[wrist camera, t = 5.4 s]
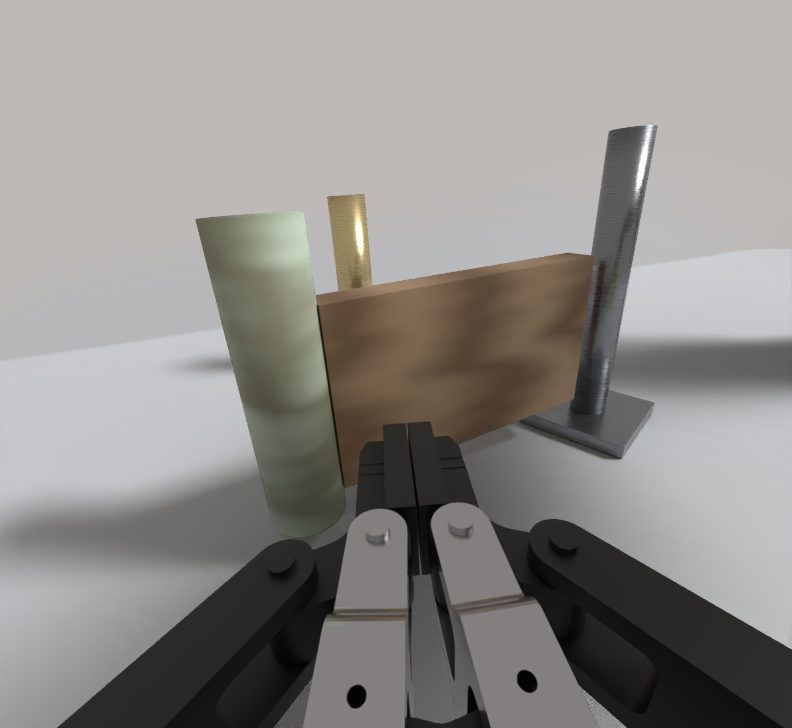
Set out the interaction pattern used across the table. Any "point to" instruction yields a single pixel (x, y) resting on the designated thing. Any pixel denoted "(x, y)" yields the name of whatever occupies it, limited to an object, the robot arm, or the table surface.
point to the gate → (380, 355)
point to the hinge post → (608, 305)
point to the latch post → (350, 241)
